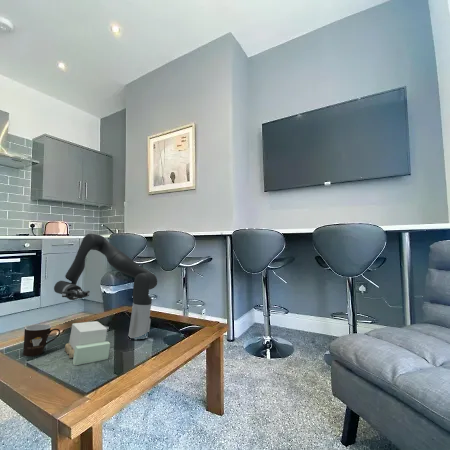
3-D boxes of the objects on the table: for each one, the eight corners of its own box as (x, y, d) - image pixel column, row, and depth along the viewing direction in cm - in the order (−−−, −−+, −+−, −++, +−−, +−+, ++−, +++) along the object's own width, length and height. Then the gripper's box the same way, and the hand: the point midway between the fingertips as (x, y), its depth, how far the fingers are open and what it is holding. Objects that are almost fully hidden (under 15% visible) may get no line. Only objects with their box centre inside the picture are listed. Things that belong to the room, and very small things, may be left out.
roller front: (102, 343, 106) (103, 348, 104) (100, 348, 107) (101, 354, 105) (70, 348, 98) (71, 353, 96) (68, 354, 99) (69, 359, 97)
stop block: (105, 356, 102) (107, 341, 103) (107, 358, 100) (110, 343, 100) (72, 362, 94) (75, 346, 94) (74, 365, 91) (77, 348, 92)
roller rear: (98, 340, 110) (97, 347, 110) (95, 338, 112) (94, 346, 112) (67, 344, 102) (66, 352, 101) (65, 343, 104) (64, 350, 103)
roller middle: (98, 340, 110) (100, 344, 107) (96, 345, 110) (98, 350, 108) (67, 344, 101) (68, 349, 99) (66, 350, 102) (67, 355, 100)
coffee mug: (14, 357, 93) (20, 330, 94) (26, 349, 101) (31, 323, 103) (49, 357, 96) (54, 330, 97) (58, 349, 104) (62, 324, 106)
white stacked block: (94, 339, 111) (97, 321, 112) (104, 349, 101) (107, 329, 103) (68, 343, 104) (72, 323, 105) (76, 353, 95) (80, 332, 96)
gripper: (58, 284, 128) (66, 288, 115) (86, 284, 137) (96, 288, 124) (56, 299, 127) (64, 305, 114) (84, 298, 136) (94, 303, 123)
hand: (81, 296), depth 119 cm, fingers closed
